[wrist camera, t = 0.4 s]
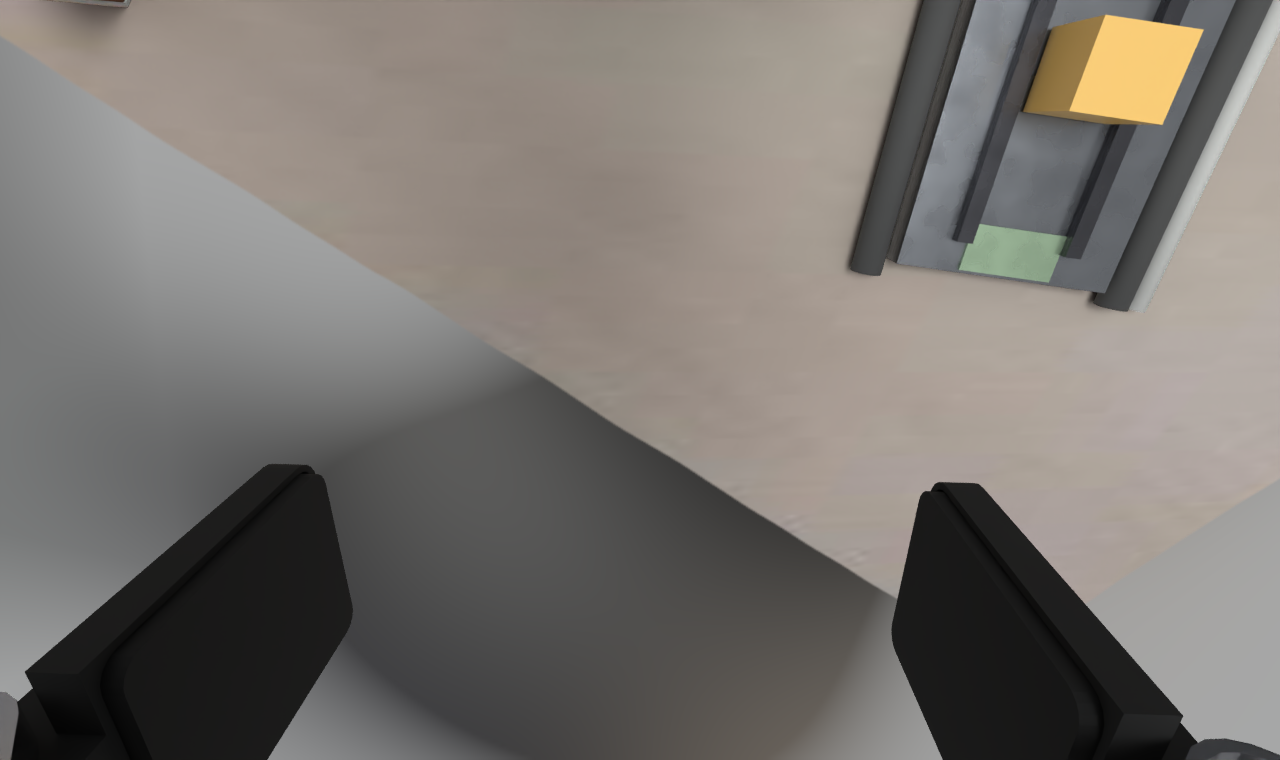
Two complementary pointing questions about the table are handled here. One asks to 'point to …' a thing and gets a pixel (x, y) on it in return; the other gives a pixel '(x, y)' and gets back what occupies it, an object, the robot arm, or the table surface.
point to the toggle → (1112, 70)
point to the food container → (100, 2)
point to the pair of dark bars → (1215, 107)
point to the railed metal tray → (1034, 152)
